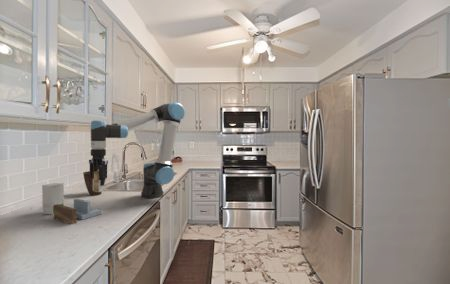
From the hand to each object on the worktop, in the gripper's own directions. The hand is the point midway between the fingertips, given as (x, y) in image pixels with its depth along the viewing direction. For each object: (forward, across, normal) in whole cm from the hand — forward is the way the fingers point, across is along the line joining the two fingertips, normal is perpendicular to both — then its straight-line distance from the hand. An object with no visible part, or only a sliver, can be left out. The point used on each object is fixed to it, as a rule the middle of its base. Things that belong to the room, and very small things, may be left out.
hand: (98, 190), depth 142 cm
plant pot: (+12, -38, +24) cm, 47 cm away
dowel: (0, 0, 0) cm, 0 cm away
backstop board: (+12, 0, -18) cm, 21 cm away
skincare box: (+12, -20, -13) cm, 27 cm away
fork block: (+11, 0, -8) cm, 14 cm away
